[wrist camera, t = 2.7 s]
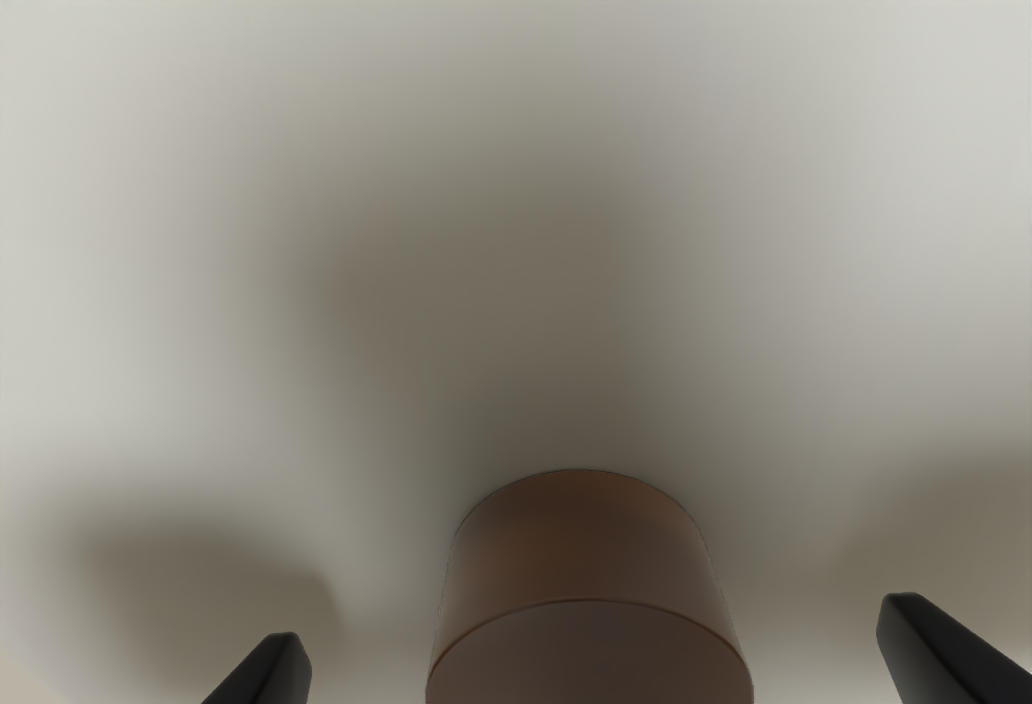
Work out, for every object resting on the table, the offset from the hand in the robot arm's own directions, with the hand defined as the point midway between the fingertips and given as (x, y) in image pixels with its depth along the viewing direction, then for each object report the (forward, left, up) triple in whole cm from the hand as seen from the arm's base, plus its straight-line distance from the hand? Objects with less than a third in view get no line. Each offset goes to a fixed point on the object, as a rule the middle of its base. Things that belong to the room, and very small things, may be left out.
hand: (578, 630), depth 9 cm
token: (0, 0, -1) cm, 1 cm away
